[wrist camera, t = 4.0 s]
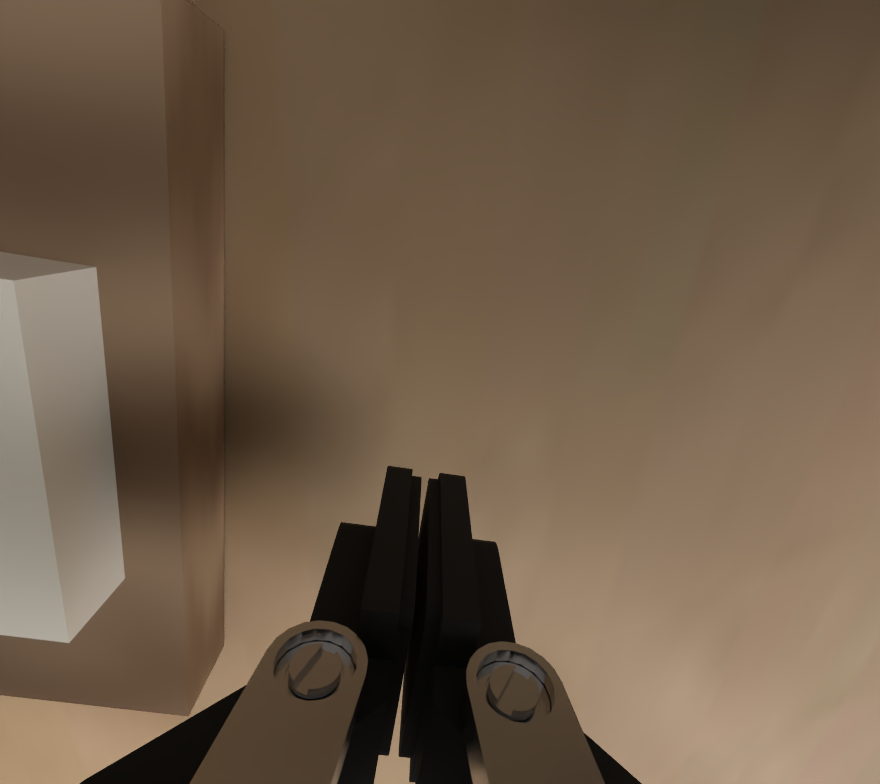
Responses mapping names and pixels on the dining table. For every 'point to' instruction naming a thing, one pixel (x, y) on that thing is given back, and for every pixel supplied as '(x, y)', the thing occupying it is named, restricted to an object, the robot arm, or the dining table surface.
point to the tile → (54, 452)
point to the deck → (131, 316)
